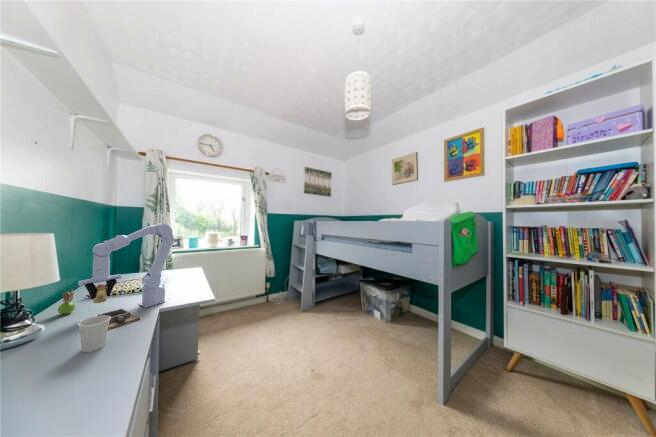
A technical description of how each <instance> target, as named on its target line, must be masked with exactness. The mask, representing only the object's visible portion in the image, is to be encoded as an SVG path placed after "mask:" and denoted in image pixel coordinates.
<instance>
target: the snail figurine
mask: <svg viewBox="0 0 656 437" xmlns="http://www.w3.org/2000/svg"><path fill="white" fill-rule="evenodd" d="M70 291H71V292H69V291H64V292H63V294H62V302H63V303H62V304H60V305H59V306H58V307H57V312H58V313H59V315H68V314H70V313H72V312H74V311H75V309H76V305H75V303H74V302H72V301H73V299H74V294H75V289H74V288H73V289H70Z"/></svg>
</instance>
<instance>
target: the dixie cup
mask: <svg viewBox="0 0 656 437" xmlns="http://www.w3.org/2000/svg"><path fill="white" fill-rule="evenodd" d="M110 319H111V317H110V316H108V315H102V316H97V315H96V316H91V317H87V318H84V319H82V320H81V321H79V322H78V323H77V326H78V331H79V338H80V344H81V350H82V352H83V353H91V352H95V351H98V350H100V349H102V348H104V347H105V346H106V341H107V336H108V326H109V321H110Z"/></svg>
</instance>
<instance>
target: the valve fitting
mask: <svg viewBox="0 0 656 437" xmlns="http://www.w3.org/2000/svg"><path fill="white" fill-rule="evenodd" d="M107 288H108V285H106V284H101V283H99V284H97V285H96V286H95V298H94V299H92V301H93V302H92V303H93V304H100V303H101V304H102V303H104V302H107V298H108V296H107Z"/></svg>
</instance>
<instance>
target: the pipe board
mask: <svg viewBox="0 0 656 437" xmlns="http://www.w3.org/2000/svg"><path fill="white" fill-rule="evenodd" d="M102 315H108V316H110V317H111V319H110V321H109V326H108V330H113V329H115V328H116V329H117V328H119V327H121V326H124V325H128V324H130V323H134V322H137V321H140V320H141V317H140V316H137V315H135V314H134V313H132V312H131V311H128V310H126V309H124V308H122V307H121V308H117V309H113V310H111V311H106V312H103V313H100V314H97V315H96V316H102Z"/></svg>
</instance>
